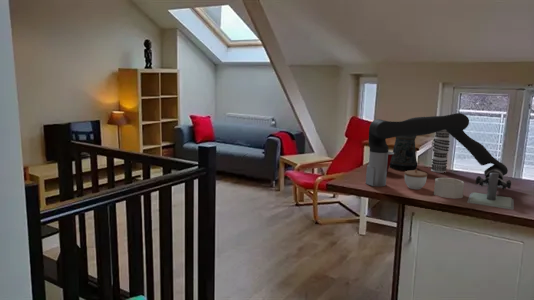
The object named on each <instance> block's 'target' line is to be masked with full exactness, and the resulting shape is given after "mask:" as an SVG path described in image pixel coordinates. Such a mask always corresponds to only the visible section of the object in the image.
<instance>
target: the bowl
mask: <svg viewBox="0 0 534 300" xmlns="http://www.w3.org/2000/svg"><path fill="white" fill-rule="evenodd" d="M434 178H435V177H434ZM464 186H465V182H464V181H463V180H460V179H457V178H453V177H452V178H451V177H450V178H449V177H438V178H437V177H436V178H435V179H434V188H433V189H434V190H433V195H434V196H438V197H441V198H447V199H462V198H463V197H464V190H465V187H464Z"/></svg>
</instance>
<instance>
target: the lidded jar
mask: <svg viewBox="0 0 534 300" xmlns="http://www.w3.org/2000/svg"><path fill="white" fill-rule="evenodd" d="M427 177H428V173H427V172H425V171H422V170H418V169H417V168H416V169H415V170H409V171H404V183H405V185H406V186H407V187H408V189H411V190H422V189H423V187H424V186H425V185H426V182H427Z"/></svg>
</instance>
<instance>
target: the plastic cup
mask: <svg viewBox="0 0 534 300" xmlns="http://www.w3.org/2000/svg"><path fill="white" fill-rule="evenodd" d="M393 154H394V153H393V151H390V150H388V163H387V173H388V172H389V169H390V162H391V158H392V156H393Z"/></svg>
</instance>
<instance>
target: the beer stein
mask: <svg viewBox="0 0 534 300" xmlns="http://www.w3.org/2000/svg"><path fill="white" fill-rule="evenodd" d="M416 139H417V136H397V137H395V140H394V145H393V149H392V150H393V151H392V152H393V153H394V154H393V156H392V158H391V162H390V165H389V169H393V170H396V171H404V170H407V171H409V170H415V169H417V168H418V164H419V163H418V161H417V156H416V155H417V154H416V153H417V152H416Z"/></svg>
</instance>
